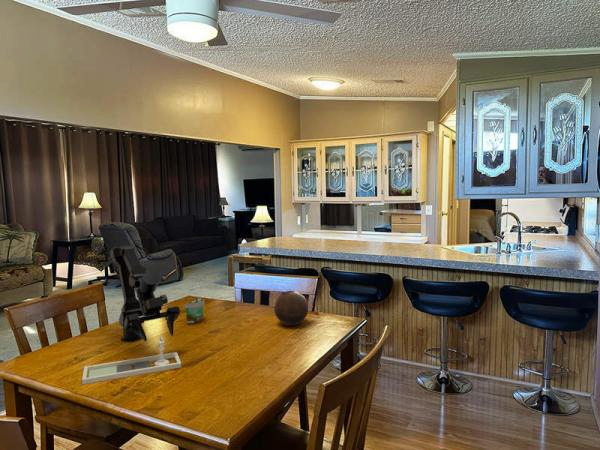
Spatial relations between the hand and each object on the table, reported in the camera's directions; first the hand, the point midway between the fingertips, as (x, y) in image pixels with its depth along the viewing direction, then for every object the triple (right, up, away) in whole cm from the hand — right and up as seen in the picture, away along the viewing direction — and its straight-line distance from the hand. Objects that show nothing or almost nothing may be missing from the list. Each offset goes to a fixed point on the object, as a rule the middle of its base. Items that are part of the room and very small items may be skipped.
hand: (159, 338), depth 148 cm
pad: (-16, -10, -8) cm, 20 cm away
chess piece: (+1, -9, 0) cm, 9 cm away
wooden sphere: (+45, -5, +42) cm, 62 cm away
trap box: (-7, -9, -4) cm, 13 cm away
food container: (+2, -5, +47) cm, 48 cm away
